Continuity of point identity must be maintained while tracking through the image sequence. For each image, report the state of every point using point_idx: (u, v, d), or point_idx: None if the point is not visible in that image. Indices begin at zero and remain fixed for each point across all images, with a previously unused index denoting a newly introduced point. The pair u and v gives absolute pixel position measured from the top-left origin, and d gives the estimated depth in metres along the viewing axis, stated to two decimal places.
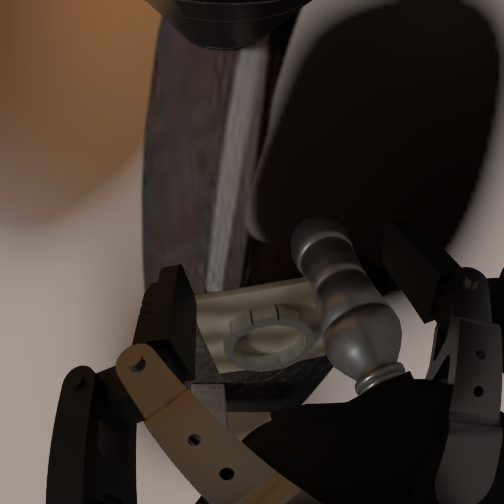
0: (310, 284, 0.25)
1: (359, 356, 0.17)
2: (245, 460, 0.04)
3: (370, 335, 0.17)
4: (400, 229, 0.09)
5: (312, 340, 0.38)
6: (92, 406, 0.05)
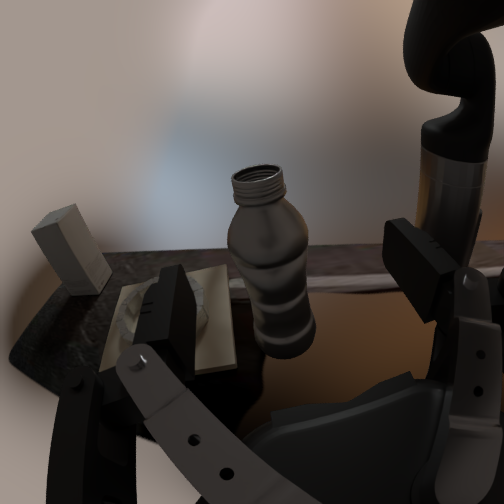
0: None
1: None
2: (245, 460, 0.04)
3: None
4: (400, 229, 0.09)
5: None
6: (92, 407, 0.05)
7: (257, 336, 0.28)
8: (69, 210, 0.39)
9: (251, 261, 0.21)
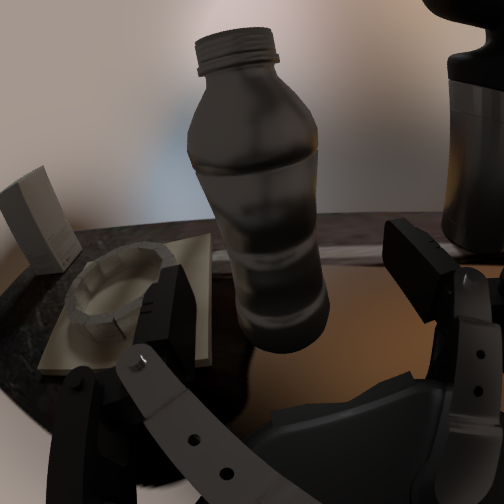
0: None
1: None
2: (245, 460, 0.04)
3: None
4: (400, 229, 0.09)
5: (98, 321, 0.21)
6: (92, 406, 0.05)
7: (240, 315, 0.18)
8: (34, 171, 0.30)
9: (219, 158, 0.11)
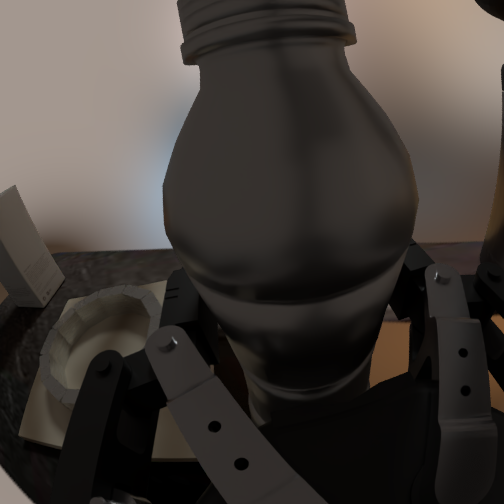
0: None
1: None
2: (262, 452, 0.04)
3: None
4: None
5: None
6: (116, 392, 0.06)
7: (256, 422, 0.12)
8: (5, 193, 0.24)
9: (233, 271, 0.05)
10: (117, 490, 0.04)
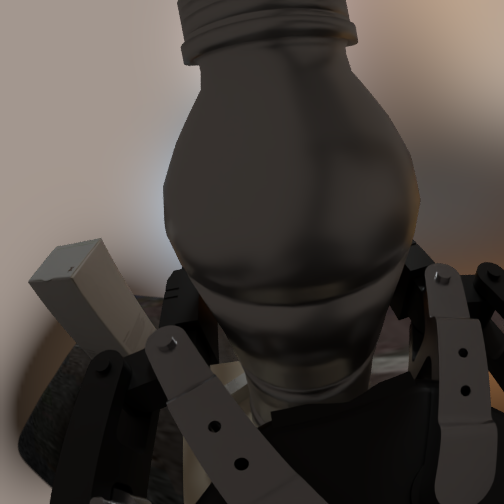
0: None
1: None
2: (262, 452, 0.04)
3: None
4: None
5: None
6: (117, 393, 0.06)
7: (257, 422, 0.12)
8: (91, 251, 0.24)
9: (235, 273, 0.05)
10: (117, 490, 0.04)
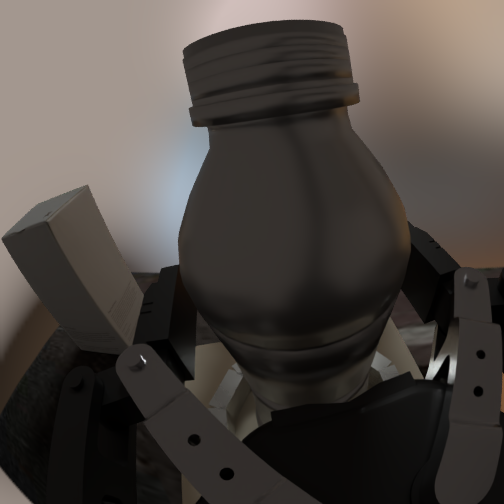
0: None
1: None
2: (245, 459, 0.04)
3: None
4: None
5: None
6: (92, 406, 0.05)
7: None
8: (75, 197, 0.19)
9: (247, 326, 0.06)
10: (107, 502, 0.04)
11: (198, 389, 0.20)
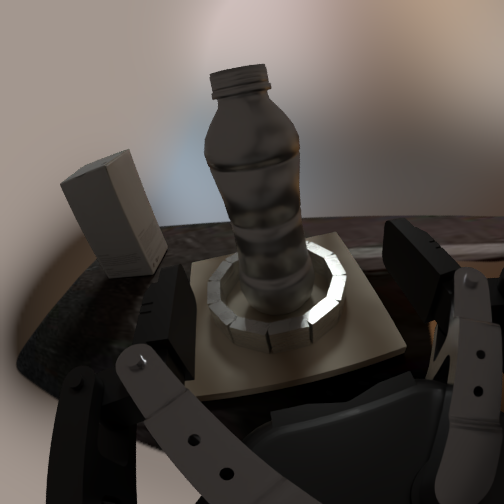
0: None
1: None
2: (245, 460, 0.04)
3: None
4: (400, 229, 0.09)
5: (288, 328, 0.21)
6: (92, 406, 0.05)
7: (243, 281, 0.23)
8: (121, 155, 0.30)
9: (229, 160, 0.16)
10: (107, 502, 0.04)
11: (201, 284, 0.31)
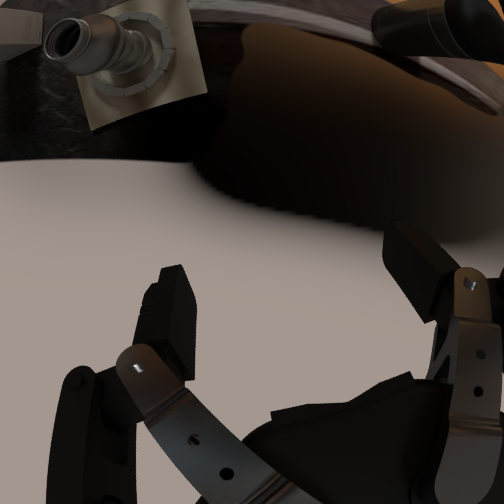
0: None
1: (92, 21, 0.14)
2: (245, 459, 0.04)
3: (106, 26, 0.16)
4: (400, 229, 0.09)
5: (135, 91, 0.30)
6: (92, 406, 0.05)
7: None
8: None
9: (79, 75, 0.19)
10: (107, 503, 0.04)
11: None
